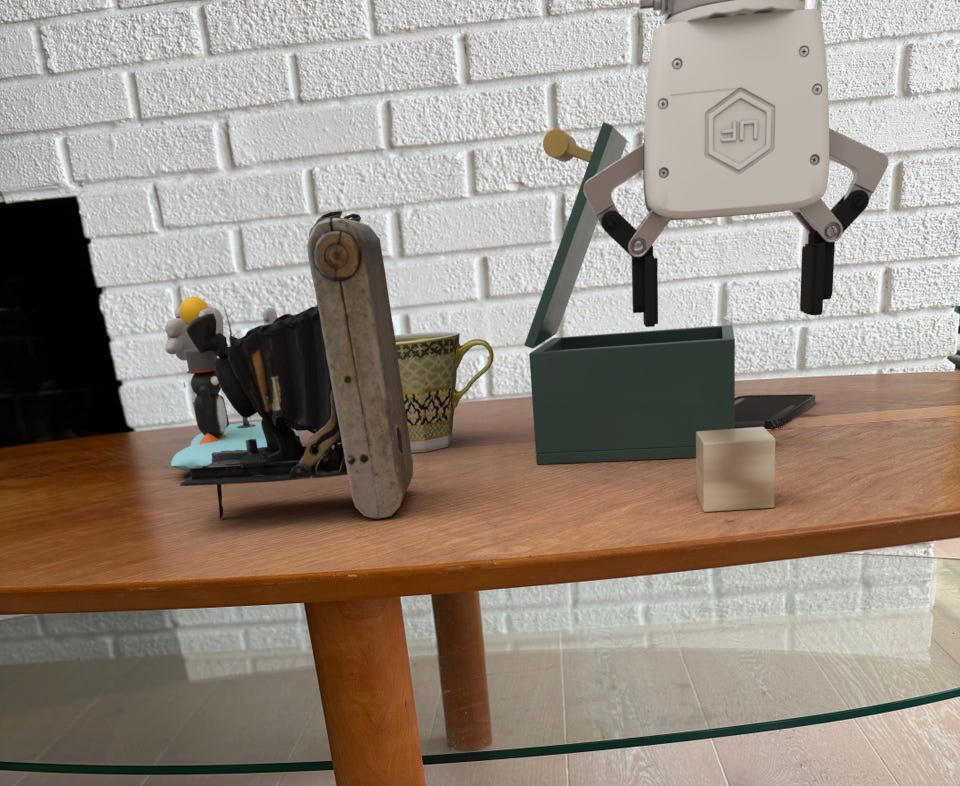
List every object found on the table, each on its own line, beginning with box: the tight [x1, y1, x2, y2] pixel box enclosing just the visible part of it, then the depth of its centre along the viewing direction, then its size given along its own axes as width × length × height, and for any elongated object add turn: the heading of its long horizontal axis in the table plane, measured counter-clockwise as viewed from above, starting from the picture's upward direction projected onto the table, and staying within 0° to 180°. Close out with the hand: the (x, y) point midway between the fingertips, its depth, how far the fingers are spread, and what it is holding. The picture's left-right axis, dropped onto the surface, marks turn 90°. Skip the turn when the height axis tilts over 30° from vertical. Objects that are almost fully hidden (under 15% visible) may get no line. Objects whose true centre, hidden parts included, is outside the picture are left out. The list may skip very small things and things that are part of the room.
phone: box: [735, 393, 816, 430], centre depth 96 cm, size 8×1×15 cm
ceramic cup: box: [395, 331, 495, 454], centre depth 94 cm, size 13×10×10 cm
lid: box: [524, 122, 628, 349], centre depth 82 cm, size 17×13×5 cm
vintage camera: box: [179, 210, 414, 520], centre depth 71 cm, size 10×16×20 cm, turn 88°
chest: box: [528, 324, 736, 466], centre depth 85 cm, size 16×13×9 cm
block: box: [695, 427, 777, 513], centre depth 65 cm, size 4×4×4 cm
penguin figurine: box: [164, 296, 298, 472], centre depth 95 cm, size 20×11×15 cm, turn 1°
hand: (729, 319), depth 62 cm, fingers open, 9 cm apart
